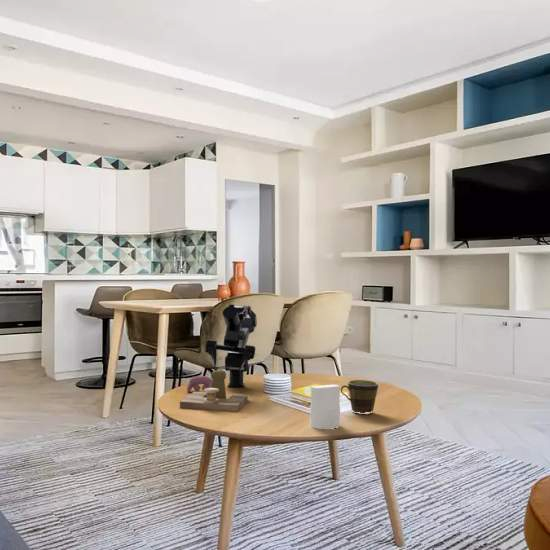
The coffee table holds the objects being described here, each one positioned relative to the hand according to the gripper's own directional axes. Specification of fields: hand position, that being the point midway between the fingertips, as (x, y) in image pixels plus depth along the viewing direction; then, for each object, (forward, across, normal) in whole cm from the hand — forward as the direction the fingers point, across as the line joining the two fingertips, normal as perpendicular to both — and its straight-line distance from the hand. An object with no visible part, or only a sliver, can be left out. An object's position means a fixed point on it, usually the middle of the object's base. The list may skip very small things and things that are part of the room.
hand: (227, 368), depth 199 cm
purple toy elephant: (+4, -9, +14) cm, 17 cm away
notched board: (+15, -2, -2) cm, 16 cm away
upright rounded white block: (+28, +32, -25) cm, 49 cm away
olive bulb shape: (+13, -1, +1) cm, 13 cm away
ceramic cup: (+17, +46, -14) cm, 51 cm away
